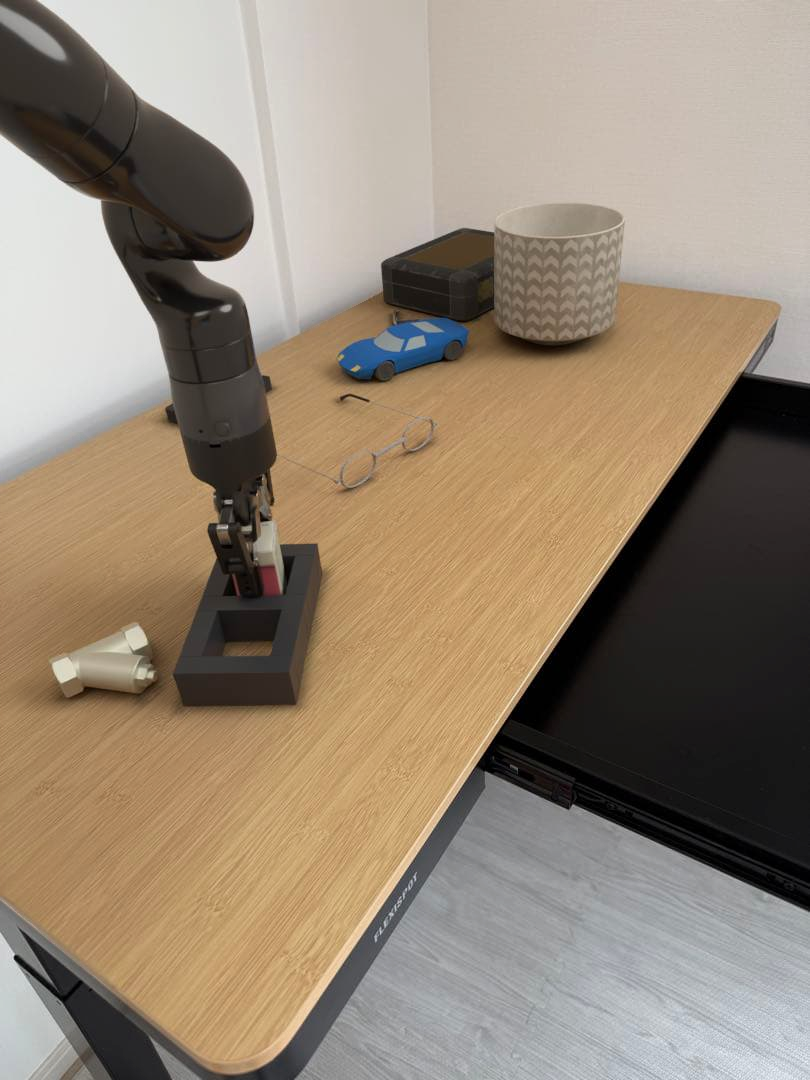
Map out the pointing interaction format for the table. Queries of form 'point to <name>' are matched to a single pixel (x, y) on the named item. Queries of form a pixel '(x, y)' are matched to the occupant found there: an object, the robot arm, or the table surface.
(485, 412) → the table surface
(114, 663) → the pipe fitting
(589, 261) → the planter
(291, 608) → the socket block
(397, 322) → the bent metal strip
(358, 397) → the eyeglasses
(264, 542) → the small box
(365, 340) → the toy car
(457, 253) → the jewelry box
